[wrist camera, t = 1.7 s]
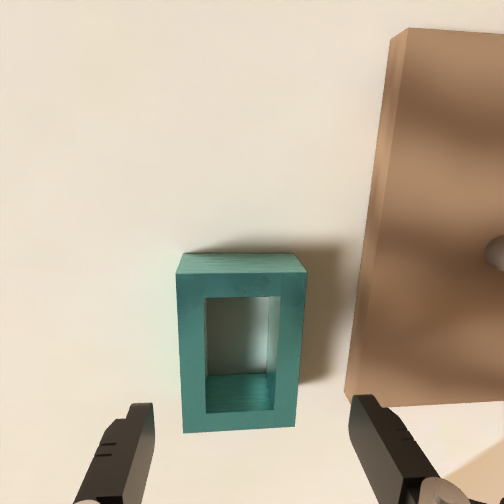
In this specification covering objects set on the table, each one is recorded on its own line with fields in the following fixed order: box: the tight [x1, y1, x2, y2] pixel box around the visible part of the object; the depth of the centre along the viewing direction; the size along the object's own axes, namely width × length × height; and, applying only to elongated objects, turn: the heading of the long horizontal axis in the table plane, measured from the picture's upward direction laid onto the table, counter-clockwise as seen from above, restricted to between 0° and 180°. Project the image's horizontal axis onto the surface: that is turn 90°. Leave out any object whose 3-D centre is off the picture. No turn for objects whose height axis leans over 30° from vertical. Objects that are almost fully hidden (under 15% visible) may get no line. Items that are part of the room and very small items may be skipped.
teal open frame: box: [176, 253, 307, 433], centre depth 17 cm, size 9×6×3 cm, turn 178°
